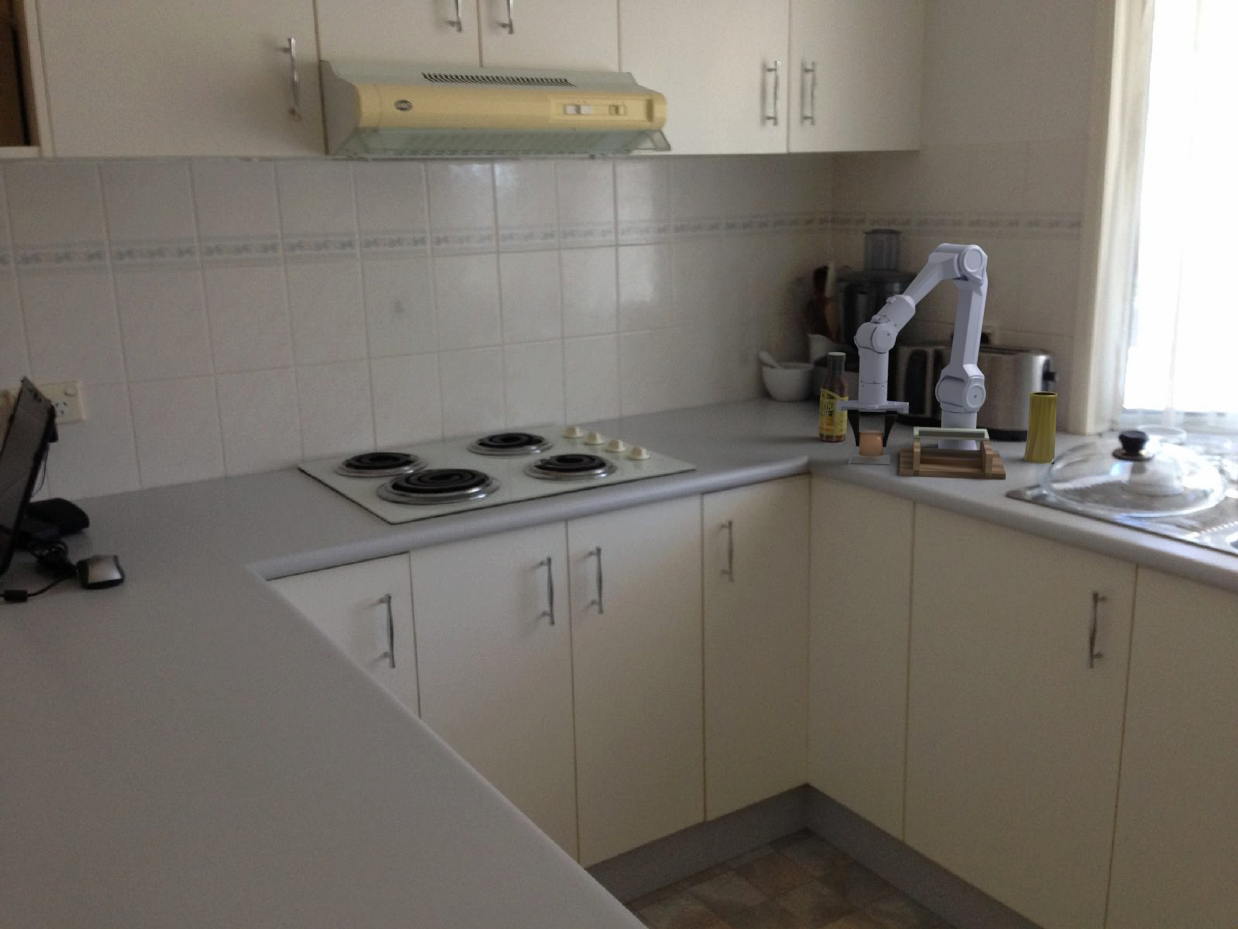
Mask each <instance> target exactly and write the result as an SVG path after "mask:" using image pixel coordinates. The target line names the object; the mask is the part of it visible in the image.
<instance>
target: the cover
mask: <svg viewBox="0 0 1238 929" xmlns="http://www.w3.org/2000/svg"><path fill="white" fill-rule="evenodd" d="M913 436H914V438H920V440H921V439H923V440H924V439H926V440H928V439H929V440H941V439H952V440H975V441H980V440H982V441H989V442H990V436H989V433H988V430H987V428H976V429H964V428H941V427H929V426H927V427H925V426H924V427H923V426H922V427H921V426H913Z"/></svg>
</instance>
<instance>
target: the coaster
mask: <svg viewBox="0 0 1238 929" xmlns="http://www.w3.org/2000/svg"><path fill="white" fill-rule="evenodd" d="M850 457H851V458H850V459H849V460H850V461H849V464H850V465H871V466H873V465H874V466H890V465H891V455H890V454H883V455H882V456H876V457H866V456H861V455H859V453H851V456H850Z"/></svg>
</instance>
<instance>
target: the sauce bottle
mask: <svg viewBox="0 0 1238 929" xmlns="http://www.w3.org/2000/svg"><path fill="white" fill-rule="evenodd" d="M826 360H827V369H826V373H825V376H824V379H823V382H822V384H821V387H820V399H819V413H818V414H819V416H818V417H819V418H818V437H819V439H820V440H821V441H825V442H830V443H831V442H834V443H835V442H843V441H845V440H846V437H847V436H846V434H847V429H848V428H847V426H848V425H847V424H848V417H847V411H836V404H837V401H849V389H850V388H849V386H850V385H849V381H848V380H847V377H846V375H845V362H846V360H847V355H846V353H845V352H840V351H839V352H837V351H834V352H832V351H831V352H828V353H827V357H826Z"/></svg>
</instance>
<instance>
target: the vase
mask: <svg viewBox="0 0 1238 929" xmlns="http://www.w3.org/2000/svg"><path fill="white" fill-rule="evenodd" d="M1057 407H1058V393H1056V392H1053V391H1041V390H1040V391H1039V390H1038V391H1032V392H1030V394H1029V408H1028V419H1027V420H1028V421H1027V422H1028V423H1027V432H1026V433H1027V434H1026V443H1025V449H1024V455H1023V460H1024V461H1025V462H1028V463H1029V462H1030V463H1035V464H1051V463H1050V462H1051V461H1052V459H1054V458H1055V453H1056V452H1055V448H1056V447H1055V446H1056V431H1057V430H1056V429H1057V410H1058V408H1057Z"/></svg>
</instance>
